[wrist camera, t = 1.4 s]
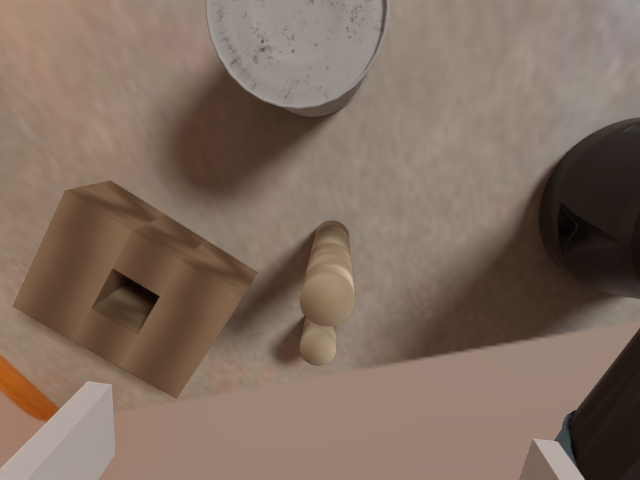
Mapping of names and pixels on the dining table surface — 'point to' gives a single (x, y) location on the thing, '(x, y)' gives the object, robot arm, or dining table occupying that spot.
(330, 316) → the long pin
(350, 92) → the speckled white tub
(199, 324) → the hole block
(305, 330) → the short pin
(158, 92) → the dining table surface
